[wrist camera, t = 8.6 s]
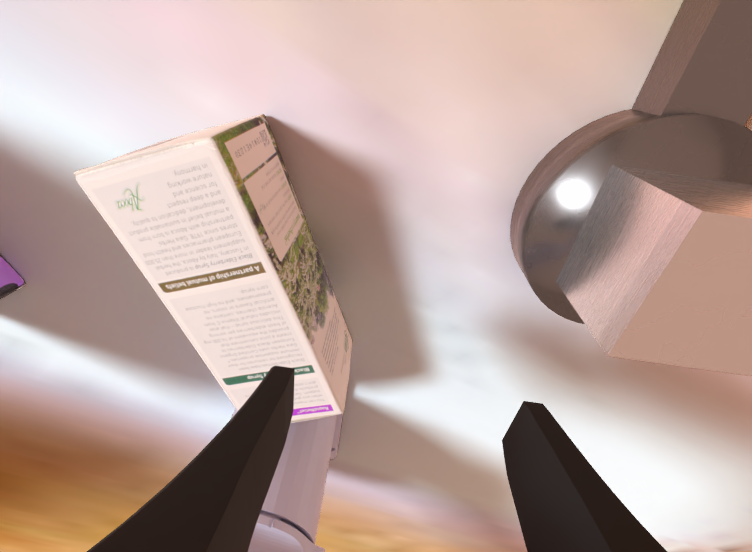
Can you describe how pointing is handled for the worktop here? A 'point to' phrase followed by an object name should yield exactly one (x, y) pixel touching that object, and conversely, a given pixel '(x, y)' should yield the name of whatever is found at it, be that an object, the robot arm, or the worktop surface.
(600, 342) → the beige small block
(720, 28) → the ratchet
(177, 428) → the worktop surface
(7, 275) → the candy box
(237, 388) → the syrup box
